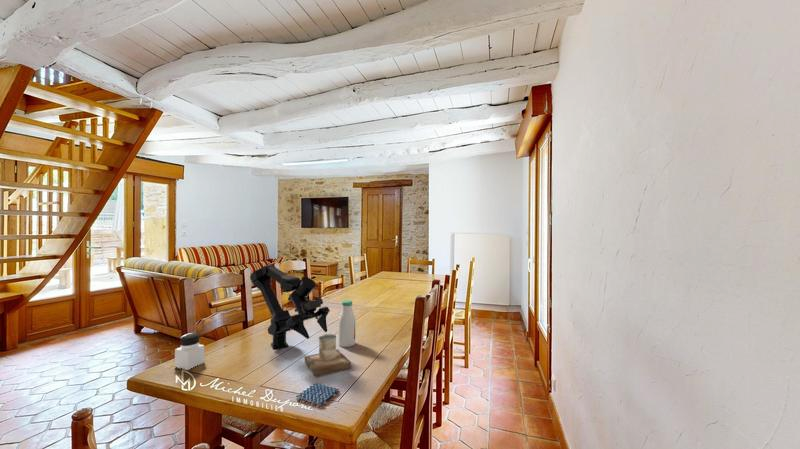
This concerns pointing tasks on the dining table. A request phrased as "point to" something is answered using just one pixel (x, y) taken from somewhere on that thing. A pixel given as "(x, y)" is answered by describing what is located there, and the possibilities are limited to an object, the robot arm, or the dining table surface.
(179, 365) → the medicine bottle
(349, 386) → the dining table surface
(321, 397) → the woven mat
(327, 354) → the beech block
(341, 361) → the base
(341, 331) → the milk bottle
